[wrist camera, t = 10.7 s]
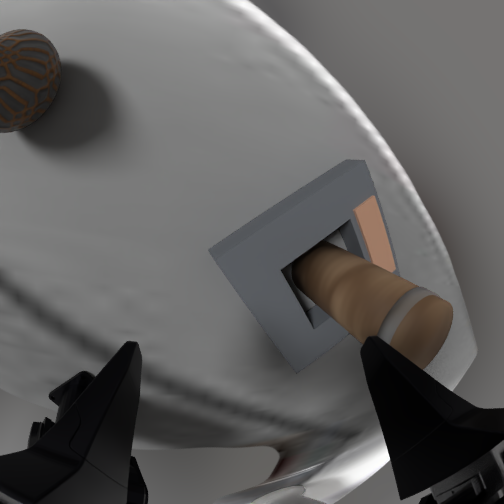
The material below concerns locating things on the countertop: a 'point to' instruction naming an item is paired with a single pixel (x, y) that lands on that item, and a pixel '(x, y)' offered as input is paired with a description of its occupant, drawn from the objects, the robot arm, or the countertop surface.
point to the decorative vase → (286, 497)
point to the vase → (26, 78)
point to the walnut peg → (374, 301)
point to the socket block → (295, 244)
